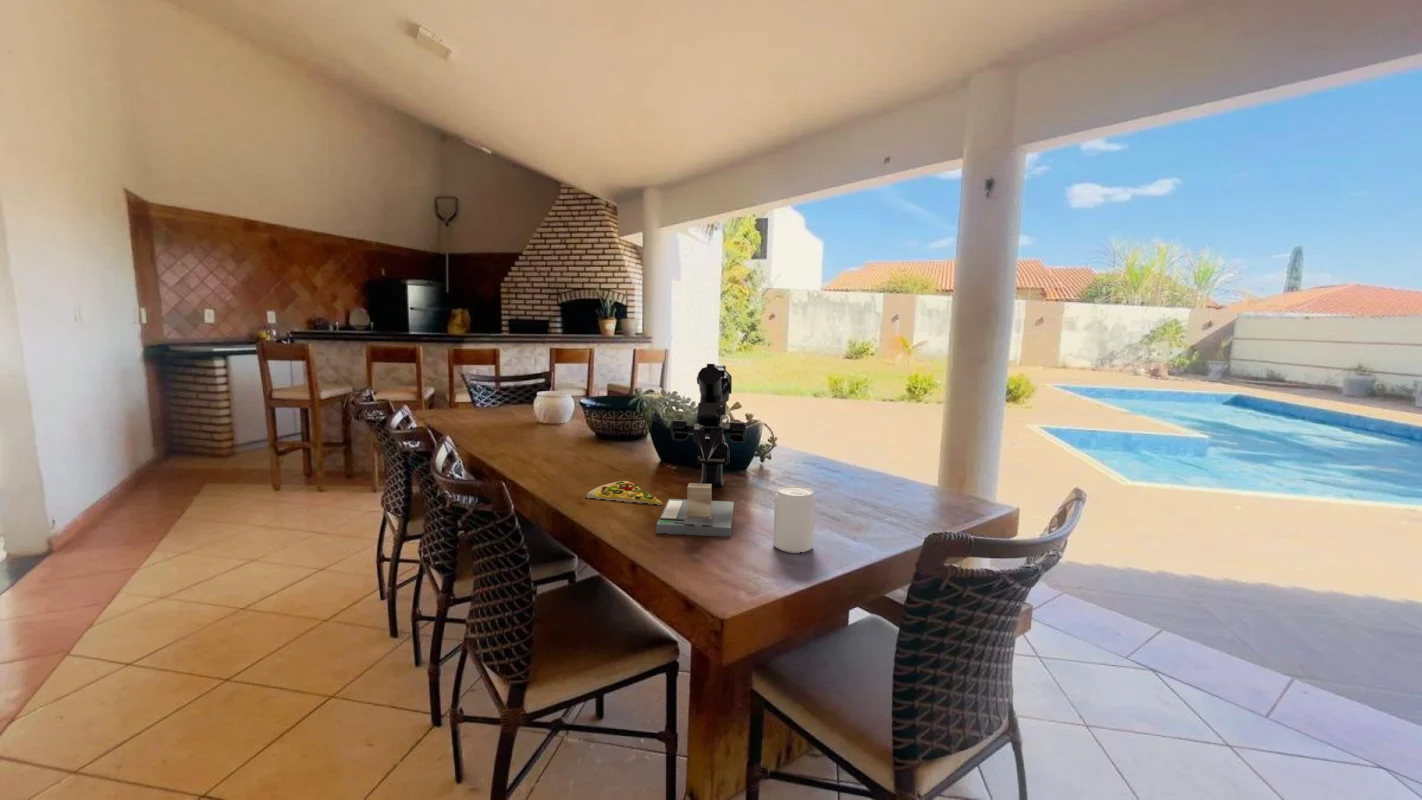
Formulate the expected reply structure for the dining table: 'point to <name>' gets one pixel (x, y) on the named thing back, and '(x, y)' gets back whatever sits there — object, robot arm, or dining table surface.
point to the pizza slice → (623, 493)
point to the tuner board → (718, 527)
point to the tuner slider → (697, 505)
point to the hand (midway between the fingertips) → (706, 460)
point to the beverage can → (794, 519)
